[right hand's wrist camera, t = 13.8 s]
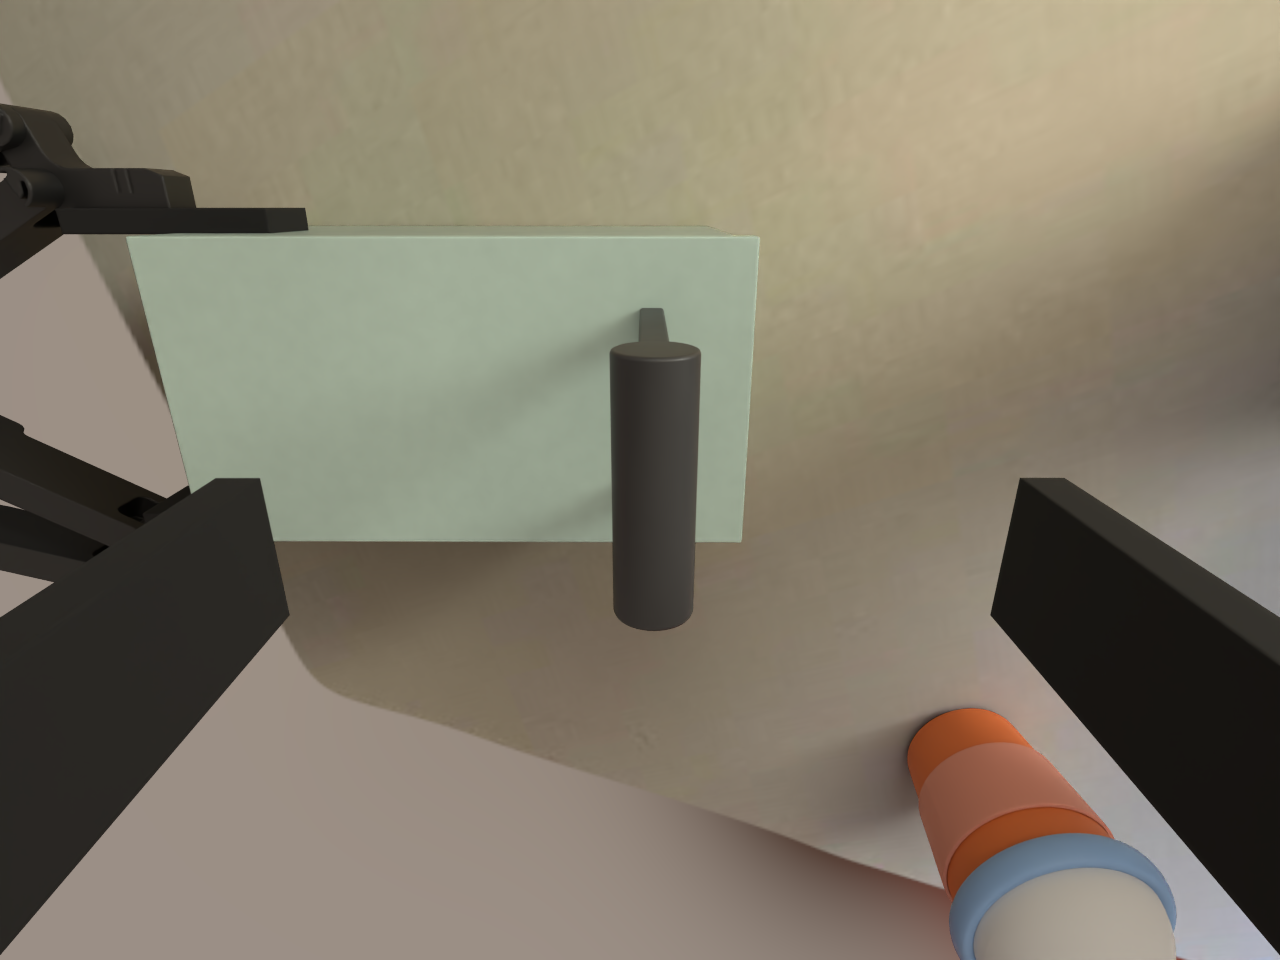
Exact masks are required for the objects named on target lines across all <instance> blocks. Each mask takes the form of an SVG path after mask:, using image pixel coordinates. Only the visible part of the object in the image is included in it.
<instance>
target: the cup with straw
mask: <svg viewBox="0 0 1280 960" xmlns="http://www.w3.org/2000/svg"><path fill="white" fill-rule="evenodd" d="M907 761H908V767H909V771H910V774H911V777H912V780H913V784H914V787H915V789H916V792H917V795H918V798H919V812H920V816H921V819H922V822H923V825H924V828H925V831H926V834H927V837H928V840H929V843H930V846H931V849H932V852H933V855H934V858H935V861H936V865H937V868H938V871H939V874H940V877H941V880H942V883H943V886H944V889H945V891H946V893H947V896H948V897H949V899H950V901H951V902H952V905H951V910H950V916H949V927H950V934H951V939H952V942H953V945H954V948H955V950H956V952H957V954H958V956H959V958H960V960H1176V946H1175V939H1174V934H1173V933H1174V929H1175V925H1176V906H1175V901H1174V897H1173V895H1172V892H1171V890H1170V887H1169V885H1168V884H1167V882H1166V880H1165V878H1164V877H1163V875H1162V874H1161V872H1160V871H1159V870H1158V869H1157V867H1156V866H1155V865H1154V864H1153V863H1152V862H1151V861H1150V860H1149V859H1148V858H1147V857H1146V856H1144V855H1143V854H1142V853H1140V852H1139V851H1138V850H1136V849H1134V848H1133V847H1131V846H1129V845H1127V844H1125V843H1123V842H1121V841H1118V840H1115V839H1114V837H1113V835H1112V833H1111V831H1110V830H1109V828H1108V827H1107V826H1106V825H1105V823H1104V822H1103V821H1102V820H1101V819H1100V818H1099V817H1098V815H1097V814H1096V813H1095V812H1094V811H1093V810H1092V809H1091V808H1090V806H1089V805H1088V804H1087V803H1086V802H1085V801H1084V800H1083V799H1082V798H1081V796H1080V795H1079V794H1078V793H1077V792H1076V791H1075V790H1074V789H1073V787H1072V786H1071V785H1070V784H1069V783H1068V782H1067V781H1066V780H1065V778H1064V777H1063V776H1062V775H1061V774H1060V773H1059V772H1058V771H1057V769H1056V768H1055V767H1054V766H1053V765H1052V764H1051V763H1050V762H1049V761H1048V760H1047V759H1046V758H1045V757H1044V756H1043V755H1042V754H1040V753H1039V752H1037V751H1035V750H1034V749H1033V748H1032V747H1031V746H1030V745H1029V743H1028V742H1027V741H1026V740H1025V739H1024V738H1023V737H1022V735H1021V734H1020V733H1019V732H1018V731H1017V730H1016V729H1015V728H1014V727H1013V726H1012V725H1011V723H1009V722H1008V721H1007V720H1006V719H1005V718H1003V717H1002V716H1000V715H998V714H996V713H994V712H991V711H988V710H984V709H975V708H967V709H959V710H954V711H950V712H947V713H944V714H942V715H940V716H938V717H936V718H934V719H932V720H931V721H929V722H928V723H927V724H925V725H924V726H923V727H922V728H921V729H920V730H919V731H918V732H917V734H916V735H915V736H914V738H913V740H912V742H911V744H910V746H909V750H908V757H907Z"/></svg>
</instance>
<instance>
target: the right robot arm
mask: <svg viewBox="0 0 1280 960" xmlns="http://www.w3.org/2000/svg"><path fill="white" fill-rule="evenodd" d="M288 616H289V610H288V605H287V601H286V596H285V591H284V587H283V582H282V578H281V573H280V568H279V564H278V559H277V554H276V550H275V545H274V540H273V536H272V531H271V527H270V522H269V517H268V513H267V508H266V503H265V499H264V494H263V489H262V485H261V480H260V478H215V479H213V480H212V481H210V482H209V483H207V484H206V485H204V486H203V487H201V488H200V489H198V490H196V491H195V492H193V493H192V494H190V495H189V496H187V497H186V498H184V499H183V500H181V501H179V502H178V503H176V504H175V505H173V506H172V507H170V508H169V509H167V510H166V511H164V512H162V513H161V514H159V515H158V516H156V517H155V518H153V519H152V520H150V521H149V522H147V523H145V524H144V525H142V526H141V527H139V528H138V529H136V530H135V531H133V532H132V533H130V534H128V535H127V536H125V537H124V538H122V539H121V540H119V541H118V542H116V543H115V544H113V545H111V546H110V547H108V548H107V549H105V550H104V551H102V552H101V553H99V554H98V555H96V556H94V557H93V558H91V559H90V560H88V561H87V562H85V563H84V564H82V565H81V566H79V567H78V568H76V569H74V570H73V571H71V572H70V573H68V574H67V575H65V576H64V577H62V578H61V579H59V580H57V581H56V582H54V583H53V584H51V585H50V586H48V587H47V588H45V589H44V590H42V591H41V592H39V593H37V594H36V595H34V596H33V597H31V598H30V599H28V600H27V601H25V602H23V603H22V604H20V605H19V606H17V607H16V608H14V609H13V610H11V611H10V612H8V613H6V614H5V615H3V616H2V617H0V955H1V954H2V952H3V951H4V950H5V949H6V948H7V946H8V945H9V944H10V943H11V942H12V941H13V939H14V938H15V937H16V936H17V935H18V934H19V932H20V931H21V930H22V929H23V928H24V927H25V925H26V924H27V923H28V922H29V921H30V919H31V918H32V917H33V916H34V915H35V914H36V912H37V911H38V910H39V909H40V908H41V907H42V905H43V904H44V903H45V902H46V901H47V899H48V898H49V897H50V896H51V895H52V894H53V892H54V891H55V890H56V889H57V888H58V886H59V885H60V884H61V883H62V882H63V881H64V879H65V878H66V877H67V876H68V875H69V874H70V872H71V871H72V870H73V869H74V868H75V867H76V865H77V864H78V863H79V862H80V861H81V860H82V858H83V857H84V856H85V855H86V854H87V852H88V851H89V850H90V849H91V848H92V847H93V845H94V844H95V843H96V842H97V841H98V840H99V838H100V837H101V836H102V835H103V834H104V832H105V831H106V830H107V829H108V828H109V827H110V825H111V824H112V823H113V822H114V821H115V820H116V818H117V817H118V816H119V815H120V814H121V813H122V811H123V810H124V809H125V808H126V807H127V805H128V804H129V803H130V802H131V801H132V800H133V798H134V797H135V796H136V795H137V794H138V793H139V791H140V790H141V789H142V788H143V787H144V785H145V784H146V783H147V782H148V781H149V780H150V778H151V777H152V776H153V775H154V774H155V773H156V771H157V770H158V769H159V768H160V767H161V766H162V764H163V763H164V762H165V761H166V760H167V758H168V757H169V756H170V755H171V754H172V753H173V751H174V750H175V749H176V748H177V747H178V746H179V744H180V743H181V742H182V741H183V740H184V738H185V737H186V736H187V735H188V734H189V733H190V731H191V730H192V729H193V728H194V727H195V726H196V724H197V723H198V722H199V721H200V720H201V719H202V717H203V716H204V715H205V714H206V713H207V711H208V710H209V709H210V708H211V707H212V706H213V704H214V703H215V702H216V701H217V700H218V699H219V697H220V696H221V695H222V694H223V693H224V691H225V690H226V689H227V688H228V687H229V686H230V684H231V683H232V682H233V681H234V680H235V679H236V677H237V676H238V675H239V674H240V673H241V671H242V670H243V669H244V668H245V667H246V666H247V664H248V663H249V662H250V661H251V660H252V659H253V657H254V656H255V655H256V654H257V653H258V652H259V650H260V649H261V648H262V647H263V646H264V644H265V643H266V642H267V641H268V640H269V639H270V637H271V636H272V635H273V634H274V633H275V631H276V630H277V629H278V628H279V627H280V626H281V625H282V623H283V622H284V621H285V620H286V619H287V617H288ZM991 616H992V617H993V619H994V620H995V621H996V622H997V623H998V625H999V626H1000V627H1001V628H1002V629H1003V630H1004V632H1005V633H1006V634H1007V635H1008V636H1009V637H1010V639H1011V640H1012V641H1013V642H1014V643H1015V644H1016V646H1017V647H1018V648H1019V649H1020V650H1021V652H1022V653H1023V654H1024V655H1025V656H1026V657H1027V659H1028V660H1029V661H1030V662H1031V663H1032V664H1033V666H1034V667H1035V668H1036V669H1037V670H1038V672H1039V673H1040V674H1041V675H1042V676H1043V677H1044V679H1045V680H1046V681H1047V682H1048V683H1049V684H1050V686H1051V687H1052V688H1053V689H1054V690H1055V691H1056V693H1057V694H1058V695H1059V696H1060V697H1061V699H1062V700H1063V701H1064V702H1065V703H1066V704H1067V706H1068V707H1069V708H1070V709H1071V710H1072V711H1073V713H1074V714H1075V715H1076V716H1077V717H1078V719H1079V720H1080V721H1081V722H1082V723H1083V724H1084V726H1085V727H1086V728H1087V729H1088V730H1089V731H1090V733H1091V734H1092V735H1093V736H1094V737H1095V738H1096V740H1097V741H1098V742H1099V743H1100V744H1101V746H1102V747H1103V748H1104V749H1105V750H1106V751H1107V753H1108V754H1109V755H1110V756H1111V757H1112V758H1113V760H1114V761H1115V762H1116V763H1117V764H1118V766H1119V767H1120V768H1121V769H1122V770H1123V771H1124V773H1125V774H1126V775H1127V776H1128V777H1129V778H1130V780H1131V781H1132V782H1133V783H1134V784H1135V785H1136V787H1137V788H1138V789H1139V790H1140V791H1141V793H1142V794H1143V795H1144V796H1145V797H1146V798H1147V800H1148V801H1149V802H1150V803H1151V804H1152V805H1153V807H1154V808H1155V809H1156V810H1157V811H1158V813H1159V814H1160V815H1161V816H1162V817H1163V818H1164V820H1165V821H1166V822H1167V823H1168V824H1169V825H1170V827H1171V828H1172V829H1173V830H1174V831H1175V832H1176V834H1177V835H1178V836H1179V837H1180V838H1181V840H1182V841H1183V842H1184V843H1185V844H1186V845H1187V847H1188V848H1189V849H1190V850H1191V851H1192V852H1193V854H1194V855H1195V856H1196V857H1197V858H1198V860H1199V861H1200V862H1201V863H1202V864H1203V865H1204V867H1205V868H1206V869H1207V870H1208V871H1209V872H1210V874H1211V875H1212V876H1213V877H1214V878H1215V880H1216V881H1217V882H1218V883H1219V884H1220V885H1221V887H1222V888H1223V889H1224V890H1225V891H1226V892H1227V894H1228V895H1229V896H1230V897H1231V898H1232V899H1233V901H1234V902H1235V903H1236V904H1237V905H1238V907H1239V908H1240V909H1241V910H1242V911H1243V912H1244V914H1245V915H1246V916H1247V917H1248V918H1249V919H1250V921H1251V922H1252V923H1253V924H1254V925H1255V927H1256V928H1257V929H1258V930H1259V931H1260V932H1261V934H1262V935H1263V936H1264V937H1265V938H1266V939H1267V941H1268V942H1269V943H1270V944H1271V945H1272V946H1273V948H1274V949H1275V950H1276V951H1277V952H1278V954H1279V955H1280V617H1278V616H1277V615H1275V614H1274V613H1272V612H1270V611H1269V610H1267V609H1266V608H1264V607H1263V606H1261V605H1260V604H1258V603H1257V602H1255V601H1253V600H1252V599H1250V598H1249V597H1247V596H1246V595H1244V594H1243V593H1241V592H1240V591H1238V590H1236V589H1235V588H1233V587H1232V586H1230V585H1229V584H1227V583H1226V582H1224V581H1223V580H1221V579H1219V578H1218V577H1216V576H1215V575H1213V574H1212V573H1210V572H1209V571H1207V570H1206V569H1204V568H1202V567H1201V566H1199V565H1198V564H1196V563H1195V562H1193V561H1192V560H1190V559H1189V558H1187V557H1186V556H1184V555H1182V554H1181V553H1179V552H1178V551H1176V550H1175V549H1173V548H1172V547H1170V546H1169V545H1167V544H1165V543H1164V542H1162V541H1161V540H1159V539H1158V538H1156V537H1155V536H1153V535H1152V534H1150V533H1148V532H1147V531H1145V530H1144V529H1142V528H1141V527H1139V526H1138V525H1136V524H1135V523H1133V522H1131V521H1130V520H1128V519H1127V518H1125V517H1124V516H1122V515H1121V514H1119V513H1118V512H1116V511H1114V510H1113V509H1111V508H1110V507H1108V506H1107V505H1105V504H1104V503H1102V502H1101V501H1099V500H1097V499H1096V498H1094V497H1093V496H1091V495H1090V494H1088V493H1087V492H1085V491H1084V490H1082V489H1080V488H1079V487H1077V486H1076V485H1074V484H1073V483H1071V482H1070V481H1068V480H1067V479H1065V478H1020V480H1019V485H1018V489H1017V494H1016V499H1015V503H1014V508H1013V513H1012V517H1011V522H1010V527H1009V531H1008V536H1007V540H1006V545H1005V550H1004V554H1003V559H1002V564H1001V568H1000V573H999V578H998V582H997V587H996V591H995V596H994V601H993V605H992V610H991Z"/></svg>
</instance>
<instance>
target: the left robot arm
mask: <svg viewBox="0 0 1280 960" xmlns="http://www.w3.org/2000/svg"><path fill="white" fill-rule="evenodd" d="M72 143H73V132H72V129H71V126H70V125H69V123H68V122H67V121H66V119H64V118H63V117H62V116H61V115H59V114H57V113H54V112H51V111H45V110H38V109H32V108H25V107H19V106H13V105H6V104H0V173H7V176H6V178H4V180H3V181H2V182H0V279H1V278H2V277H3V276H5V275H6V274H8V273H9V272H10V271H12V270H13V269H15V268H16V267H18V266H19V265H21V264H22V263H23V262H25V261H26V260H28V259H29V258H30V257H32V256H33V255H35V254H36V253H38V252H39V251H41V250H42V249H43V248H45V247H46V246H48V245H49V244H50V243H52V242H53V241H55V240H56V239H58V238H59V237H60V236H62V235H63V234H173V233H281V232H294V231H307V230H309V229H308V223H307V217H306V211H305V208H196V205H195V200H194V195H193V191H192V186H191V182H190V177H188V176H186V175H183V174H181V173H178V172H176V171H173V170H161V169H147V168H91V167H90V166H88V165H86V164H85V163H84V162H83V161H82V160H81V159H80V158H79V157H78V155H77V154H76V153H75V151H74V149H73V148H72V146H71V145H72ZM23 432H24V427H23V426H22V425H20V424H19V423H17V422H14V421H12V420H10V419H8V418H5V417H3V416H1V415H0V499H1V500H3V501H5V502H8V503H10V504H12V505H15V506H17V507H19V508H22V509H24V510H22V509H18V508H13V507H9V506H3V505H0V570H2V571H6V572H11V573H16V574H20V575H24V576H29V577H33V578H38V579H42V580H47V581H51V582H56V581H57V580H59V579H61V578H62V577H64V576H65V575H67V574H68V573H70V572H71V571H73V570H74V569H76V568H78V567H79V566H81V565H82V564H84V563H85V562H87V561H88V560H90V559H91V558H93V557H94V556H96V555H98V554H99V553H101V552H102V551H104V550H105V549H107V548H108V547H110V546H111V545H113V544H115V543H116V542H118V541H119V540H121V539H122V538H124V537H125V536H127V535H128V534H130V533H132V532H133V531H135V530H136V529H138V528H139V527H141V526H142V525H144V524H145V523H147V522H149V521H150V520H152V519H153V518H155V517H156V516H158V515H159V514H161V513H162V512H164V511H166V510H167V509H169V508H170V507H172V506H173V505H175V504H176V503H178V502H179V501H181V500H183V499H184V498H186V497H187V496H189V495H190V494H191V492H190V488H189V486H187V487H185V488H183V489H182V490H180V491H178V492H177V493H175V494H174V495H172V496H170V497H169V498H167V499H166V498H164V497H162V496H160V495H157V494H155V493H153V492H151V491H149V490H146V489H144V488H142V487H140V486H137V485H135V484H133V483H131V482H129V481H126V480H124V479H122V478H120V477H117V476H115V475H113V474H111V473H109V472H106V471H104V470H102V469H100V468H97V467H95V466H93V465H91V464H88V463H86V462H84V461H82V460H80V459H77V458H75V457H73V456H71V455H68V454H66V453H64V452H62V451H60V450H57V449H55V448H53V447H51V446H48V445H46V444H44V443H42V442H40V441H37V440H35V439H33V438H31V437H28V436H26V435H25V434H24V433H23Z"/></svg>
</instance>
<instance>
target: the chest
mask: <svg viewBox="0 0 1280 960" xmlns="http://www.w3.org/2000/svg"><path fill="white" fill-rule="evenodd" d="M308 229H309V230H307V231H294V232H281V233H173V234H157V235H732V234H729V233H726V232H723V231H721V230H718V229H715V228H712V227H709V226H308Z"/></svg>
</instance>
